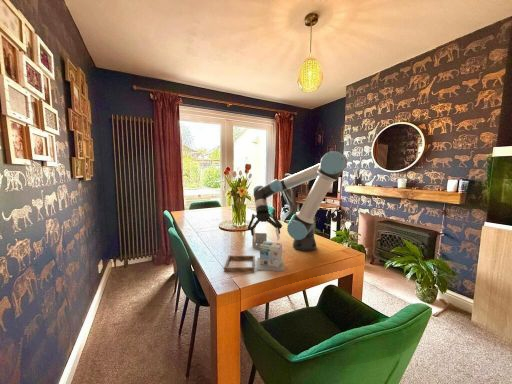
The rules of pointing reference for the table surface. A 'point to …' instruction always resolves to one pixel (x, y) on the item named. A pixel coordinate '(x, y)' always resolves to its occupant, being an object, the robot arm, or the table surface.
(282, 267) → the rubber mat
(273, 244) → the light bulb box
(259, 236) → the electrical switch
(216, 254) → the table surface
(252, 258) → the walnut collar
